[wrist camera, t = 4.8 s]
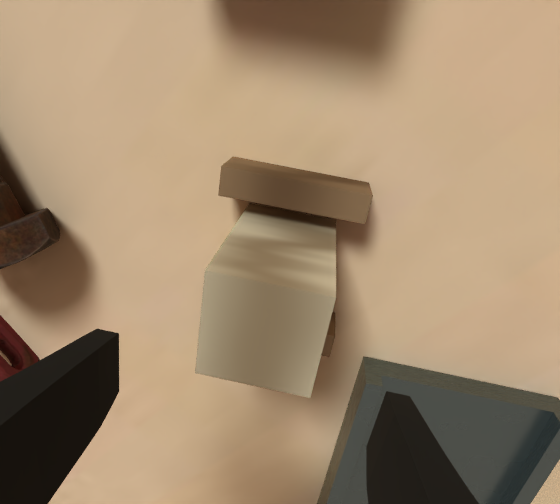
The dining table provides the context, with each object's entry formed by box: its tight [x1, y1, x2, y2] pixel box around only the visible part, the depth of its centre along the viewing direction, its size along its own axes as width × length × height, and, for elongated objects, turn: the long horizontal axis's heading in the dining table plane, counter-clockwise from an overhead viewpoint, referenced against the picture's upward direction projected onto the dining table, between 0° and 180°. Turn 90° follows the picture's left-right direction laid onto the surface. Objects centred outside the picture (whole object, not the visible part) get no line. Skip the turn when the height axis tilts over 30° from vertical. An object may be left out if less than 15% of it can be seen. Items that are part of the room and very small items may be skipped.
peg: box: [195, 203, 336, 398], centre depth 16 cm, size 4×4×7 cm
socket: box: [218, 157, 373, 357], centre depth 18 cm, size 6×8×2 cm
